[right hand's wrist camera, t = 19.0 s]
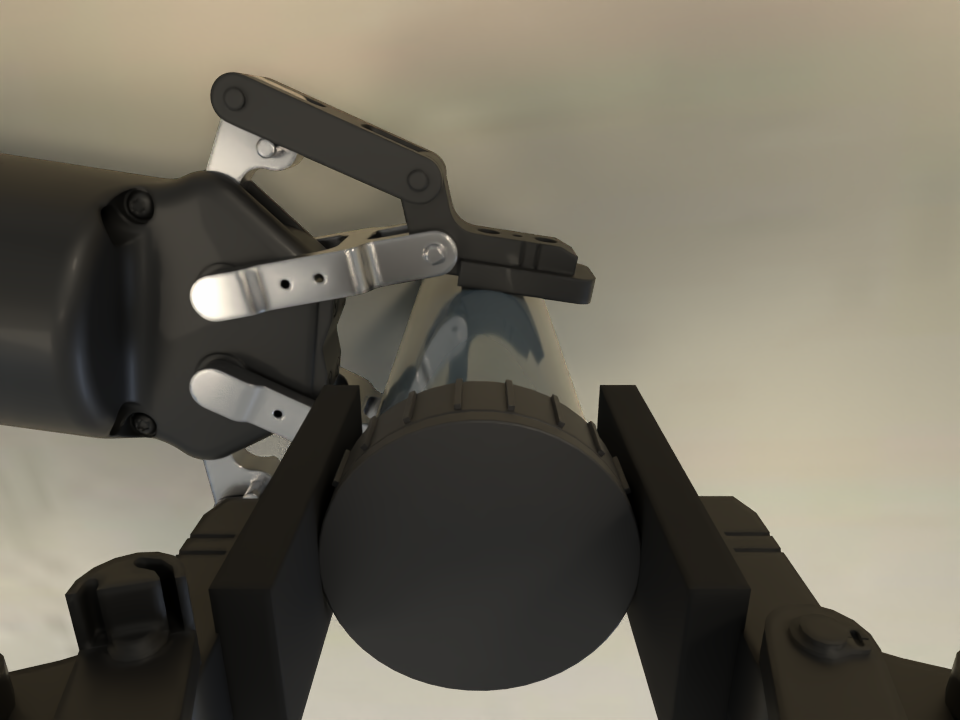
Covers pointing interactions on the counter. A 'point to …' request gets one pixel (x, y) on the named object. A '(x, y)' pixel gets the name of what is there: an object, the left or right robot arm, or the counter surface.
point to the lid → (479, 537)
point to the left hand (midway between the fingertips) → (568, 371)
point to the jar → (477, 343)
